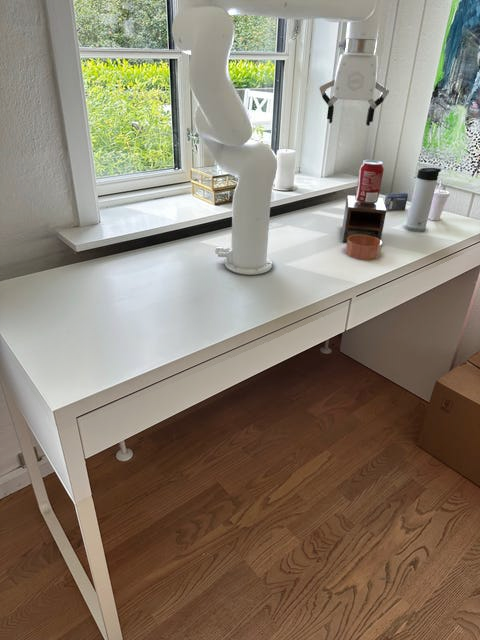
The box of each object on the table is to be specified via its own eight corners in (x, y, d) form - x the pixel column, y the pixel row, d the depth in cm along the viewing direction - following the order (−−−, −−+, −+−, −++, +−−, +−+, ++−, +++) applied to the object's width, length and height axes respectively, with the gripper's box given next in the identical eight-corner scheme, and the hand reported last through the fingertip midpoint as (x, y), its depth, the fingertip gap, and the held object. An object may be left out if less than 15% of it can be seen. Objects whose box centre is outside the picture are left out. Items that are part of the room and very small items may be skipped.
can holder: (346, 257, 133) (348, 244, 131) (345, 245, 142) (347, 233, 140) (380, 261, 132) (383, 247, 130) (377, 248, 140) (380, 236, 138)
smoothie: (422, 215, 171) (431, 176, 163) (440, 216, 170) (450, 177, 163) (426, 220, 165) (435, 180, 158) (444, 222, 164) (455, 182, 157)
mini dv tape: (384, 210, 174) (388, 194, 171) (382, 209, 175) (386, 193, 172) (404, 210, 175) (408, 194, 172) (402, 208, 177) (406, 192, 174)
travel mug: (422, 233, 154) (437, 171, 143) (402, 228, 157) (416, 167, 147) (428, 228, 158) (443, 167, 148) (409, 224, 161) (423, 164, 151)
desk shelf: (342, 242, 144) (348, 207, 138) (342, 228, 155) (347, 195, 149) (379, 245, 143) (386, 210, 137) (376, 231, 154) (382, 198, 148)
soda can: (379, 206, 140) (387, 164, 134) (357, 205, 140) (363, 163, 134) (374, 199, 146) (381, 159, 140) (352, 198, 146) (359, 158, 140)
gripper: (323, 46, 112) (315, 123, 121) (398, 50, 110) (384, 128, 119) (324, 46, 119) (316, 119, 127) (394, 49, 117) (381, 123, 125)
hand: (348, 123), depth 123 cm, fingers open, 9 cm apart
